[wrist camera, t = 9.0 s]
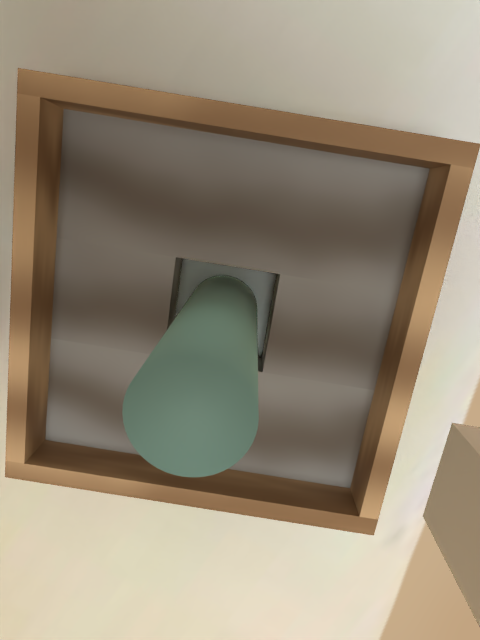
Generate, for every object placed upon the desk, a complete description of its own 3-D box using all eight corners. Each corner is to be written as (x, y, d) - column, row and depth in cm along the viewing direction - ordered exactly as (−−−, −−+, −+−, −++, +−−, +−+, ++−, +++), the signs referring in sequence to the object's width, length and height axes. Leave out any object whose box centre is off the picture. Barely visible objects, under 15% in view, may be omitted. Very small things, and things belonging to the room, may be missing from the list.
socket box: (65, 94, 24) (18, 67, 19) (435, 155, 24) (480, 144, 20) (46, 431, 29) (5, 477, 24) (354, 480, 29) (373, 535, 25)
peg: (194, 270, 26) (129, 341, 13) (262, 281, 26) (269, 364, 13) (185, 335, 27) (116, 466, 14) (251, 346, 27) (246, 486, 14)
